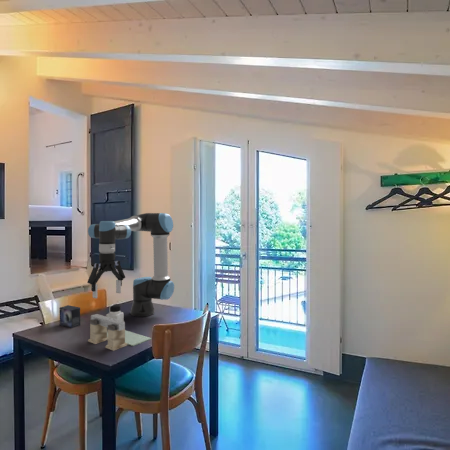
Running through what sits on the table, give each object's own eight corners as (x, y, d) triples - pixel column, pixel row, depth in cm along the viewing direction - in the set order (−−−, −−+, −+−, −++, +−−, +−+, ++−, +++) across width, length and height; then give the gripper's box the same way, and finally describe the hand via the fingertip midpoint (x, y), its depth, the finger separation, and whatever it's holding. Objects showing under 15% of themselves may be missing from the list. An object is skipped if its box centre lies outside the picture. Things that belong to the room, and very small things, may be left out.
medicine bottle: (123, 324, 204) (123, 303, 204) (116, 328, 197) (116, 306, 197) (113, 323, 206) (113, 302, 206) (105, 326, 199) (105, 305, 199)
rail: (90, 322, 179) (90, 315, 178) (96, 320, 181) (96, 313, 181) (118, 330, 166) (118, 323, 166) (124, 328, 169) (124, 321, 169)
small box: (58, 325, 201) (58, 307, 201) (68, 322, 207) (68, 304, 207) (71, 328, 196) (71, 309, 196) (80, 325, 202) (80, 307, 202)
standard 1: (101, 337, 183) (101, 316, 183) (109, 339, 180) (109, 318, 179) (88, 341, 176) (88, 319, 176) (95, 344, 173) (95, 322, 173)
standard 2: (119, 342, 175) (119, 321, 175) (127, 345, 172) (127, 323, 171) (105, 347, 168) (105, 325, 168) (113, 350, 165) (113, 327, 165)
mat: (118, 329, 195) (118, 328, 195) (151, 339, 180) (151, 338, 180) (99, 335, 186) (99, 334, 185) (132, 346, 171) (132, 345, 171)
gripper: (89, 255, 160) (89, 301, 161) (132, 251, 181) (132, 292, 181) (79, 253, 165) (79, 298, 165) (122, 250, 185) (122, 290, 186)
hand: (107, 295), depth 173 cm, fingers open, 13 cm apart
